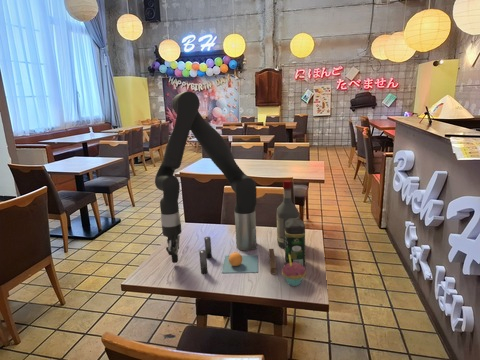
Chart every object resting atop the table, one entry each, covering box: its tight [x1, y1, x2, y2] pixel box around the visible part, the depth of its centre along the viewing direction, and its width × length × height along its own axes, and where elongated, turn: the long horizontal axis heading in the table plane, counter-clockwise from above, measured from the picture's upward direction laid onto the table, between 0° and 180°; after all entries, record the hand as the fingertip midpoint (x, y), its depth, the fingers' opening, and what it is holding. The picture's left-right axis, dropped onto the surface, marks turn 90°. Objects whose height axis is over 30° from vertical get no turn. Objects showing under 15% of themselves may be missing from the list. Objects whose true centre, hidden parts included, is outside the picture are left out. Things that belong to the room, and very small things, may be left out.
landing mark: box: [221, 254, 259, 274], centre depth 130 cm, size 14×14×1 cm
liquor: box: [276, 179, 300, 250], centre depth 142 cm, size 9×9×30 cm
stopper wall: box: [268, 248, 277, 275], centre depth 129 cm, size 2×16×2 cm, turn 177°
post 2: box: [203, 236, 213, 260], centre depth 136 cm, size 3×3×9 cm
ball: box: [228, 252, 242, 266], centre depth 128 cm, size 6×6×6 cm
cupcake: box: [281, 255, 307, 287], centre depth 114 cm, size 9×8×12 cm
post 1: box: [198, 249, 208, 275], centre depth 124 cm, size 3×3×9 cm
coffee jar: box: [284, 217, 306, 268], centre depth 126 cm, size 10×8×19 cm
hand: (175, 261), depth 131 cm, fingers closed
